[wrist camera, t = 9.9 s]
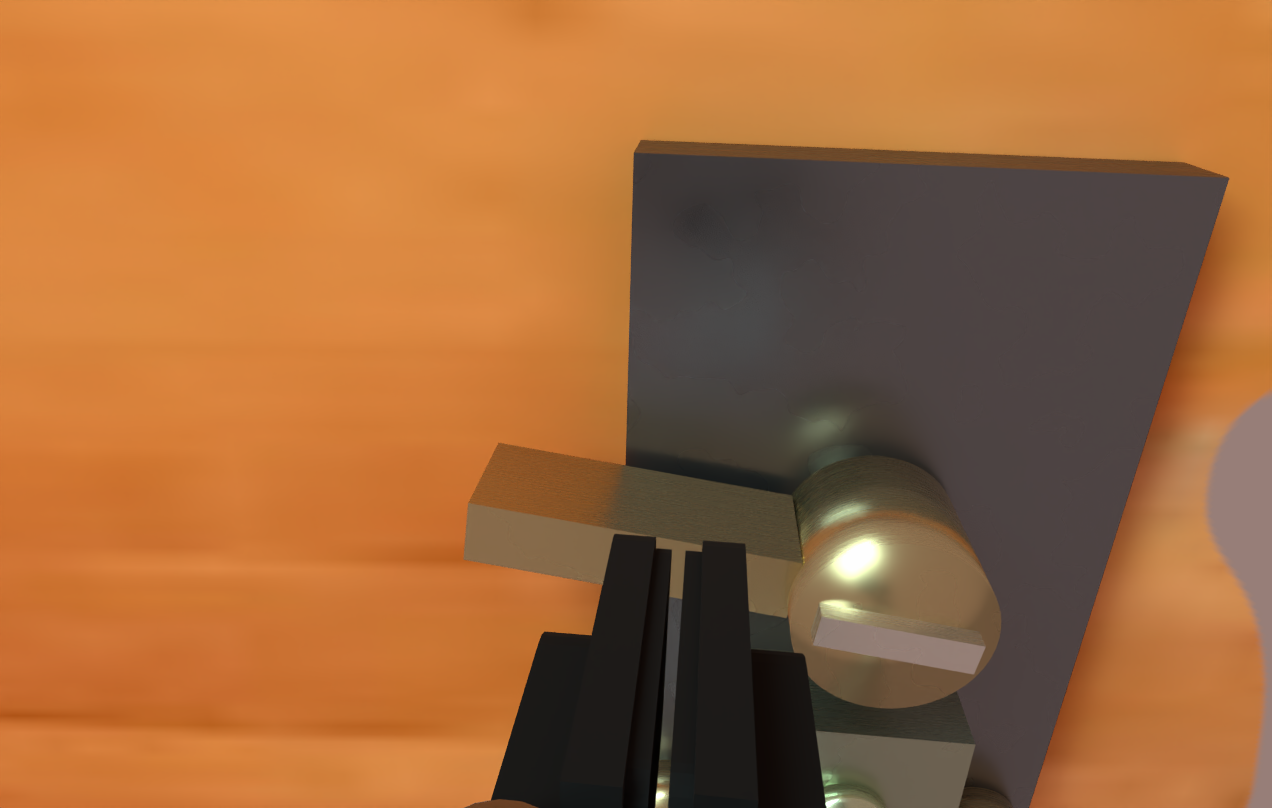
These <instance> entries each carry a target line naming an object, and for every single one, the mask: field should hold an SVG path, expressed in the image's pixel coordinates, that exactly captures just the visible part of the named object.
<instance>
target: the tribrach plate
mask: <svg viewBox="0 0 1272 808" xmlns="http://www.w3.org/2000/svg"><path fill="white" fill-rule="evenodd" d="M1228 180H1229V178H1228V177H1225V176H1223V175H1220V174H1217V173H1214V172H1211V171H1208V170H1205V169H1202V168H1199V167H1196V166H1193V165H1190V164H1187V163H1182V162H1158V161H1134V160H1110V159H1086V158H1061V157H1037V156H1013V155H989V154H964V153H940V152H916V151H892V150H868V149H843V148H819V147H795V146H771V145H746V144H722V143H698V142H674V141H649V140H641V141H640V143H639V145H638V146H637V148H636V150H635V152H634V169H633V207H632V246H631V284H630V323H629V362H628V400H627V439H626V466H631V467H636V468H642V469H647V470H653V471H658V472H664V473H670V474H675V475H681V476H686V477H692V478H697V479H703V480H709V481H714V482H720V483H725V484H731V485H736V486H742V487H747V488H753V489H759V490H764V491H770V492H775V493H781V494H786V495H792V493H793V492H794V491H795V489H796V488H797V487H798V486H799V485H800V484H801V483H802V482H803V481H804V480H805V479H807V478H808V477H809V476H810V475H812V474H813V473H815V472H816V471H818V470H819V469H821V468H823V467H825V466H827V465H829V464H832V463H834V462H837V461H840V460H843V459H848V458H852V457H859V456H885V457H892V458H896V459H900V460H903V461H906V462H909V463H911V464H914V465H916V466H917V467H919V468H921V469H923V470H924V471H926V472H927V473H929V474H930V475H931V476H932V477H933V478H935V479H936V480H937V481H938V482H939V483H940V485H941V486H942V487H943V489H944V490H945V491H946V493H947V495H948V497H949V498H950V500H951V502H952V505H953V507H954V509H955V511H956V513H957V515H958V517H959V519H960V521H961V524H962V526H963V528H964V530H965V532H966V534H967V536H968V538H969V541H970V543H971V545H972V547H973V549H974V551H975V553H976V555H977V558H978V560H979V562H980V564H981V566H982V568H983V570H984V572H985V574H986V577H987V579H988V581H989V583H990V585H991V587H992V589H993V591H994V594H995V596H996V598H997V601H998V604H999V607H1000V613H1001V632H1000V638H999V641H998V644H997V647H996V650H995V651H994V653H993V655H992V657H991V659H990V660H989V662H988V663H987V665H986V666H985V667H984V669H983V670H982V671H981V672H980V673H979V674H978V675H977V676H976V677H975V678H974V679H973V680H971V681H970V682H969V683H968V684H966V685H965V686H964V687H962V688H960V689H959V690H957V691H956V692H954V693H952V694H950V695H948V696H946V697H944V698H941V699H939V700H936V701H933V702H930V703H926V704H923V705H919V706H913V707H907V708H893V709H891V708H875V707H867V706H863V705H858V704H854V703H851V702H848V701H846V700H843V699H841V698H838V697H836V696H834V695H832V694H830V693H829V692H827V691H826V690H824V689H823V688H821V687H820V686H819V685H817V684H816V683H815V682H814V681H813V680H812V679H811V678H810V677H809V676H808V678H809V685H810V692H811V700H812V707H813V714H814V721H815V729H816V736H817V743H818V750H819V757H820V765H821V772H822V779H823V786H824V794H825V801H826V808H1029V806H1030V802H1031V799H1032V796H1033V793H1034V790H1035V787H1036V784H1037V780H1038V777H1039V774H1040V771H1041V768H1042V765H1043V762H1044V758H1045V755H1046V752H1047V749H1048V746H1049V743H1050V740H1051V737H1052V733H1053V730H1054V727H1055V724H1056V721H1057V718H1058V715H1059V711H1060V708H1061V705H1062V702H1063V699H1064V696H1065V693H1066V689H1067V686H1068V683H1069V680H1070V677H1071V674H1072V671H1073V667H1074V664H1075V661H1076V658H1077V655H1078V652H1079V649H1080V645H1081V642H1082V639H1083V636H1084V633H1085V630H1086V627H1087V623H1088V620H1089V617H1090V614H1091V611H1092V608H1093V605H1094V601H1095V598H1096V595H1097V592H1098V589H1099V586H1100V583H1101V579H1102V576H1103V573H1104V570H1105V567H1106V564H1107V561H1108V557H1109V554H1110V551H1111V548H1112V545H1113V542H1114V539H1115V535H1116V532H1117V529H1118V526H1119V523H1120V520H1121V517H1122V513H1123V510H1124V507H1125V504H1126V501H1127V498H1128V495H1129V491H1130V488H1131V485H1132V482H1133V479H1134V476H1135V473H1136V469H1137V466H1138V463H1139V460H1140V457H1141V454H1142V451H1143V447H1144V444H1145V441H1146V438H1147V435H1148V432H1149V429H1150V426H1151V422H1152V419H1153V416H1154V413H1155V410H1156V407H1157V404H1158V400H1159V397H1160V394H1161V391H1162V388H1163V385H1164V382H1165V378H1166V375H1167V372H1168V369H1169V366H1170V363H1171V360H1172V356H1173V353H1174V350H1175V347H1176V344H1177V341H1178V338H1179V334H1180V331H1181V328H1182V325H1183V322H1184V319H1185V316H1186V312H1187V309H1188V306H1189V303H1190V300H1191V297H1192V294H1193V290H1194V287H1195V284H1196V281H1197V278H1198V275H1199V272H1200V268H1201V265H1202V262H1203V259H1204V256H1205V253H1206V250H1207V246H1208V243H1209V240H1210V237H1211V234H1212V231H1213V228H1214V224H1215V221H1216V218H1217V215H1218V212H1219V209H1220V206H1221V202H1222V199H1223V196H1224V193H1225V190H1226V187H1227V184H1228ZM681 609H682V599H679V598H673V597H669V614H668V632H667V650H666V668H665V686H664V704H663V721H662V735H661V747H660V759H659V771H658V782H657V794H656V806H655V808H668V798H669V783H670V768H671V754H672V739H673V725H674V710H675V696H676V681H677V667H678V652H679V638H680V623H681ZM749 622H750V642H751V649H757V650H769V651H781V652H793V653H794V650H793V647H792V643H791V635H790V626H789V618H788V615H787V618H784V617H778V616H772V615H767V614H761V613H756V612H750V611H749Z"/></svg>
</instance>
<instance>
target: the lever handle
mask: <svg viewBox="0 0 1272 808" xmlns="http://www.w3.org/2000/svg"><path fill="white" fill-rule="evenodd" d="M614 534H625V535H638V536H652V537H656V548H660V549H672V560H671V578H670V596H669V597H673V598H679V599H682V594H683V580H684V565H685V551H700V552H702V544H703V540H705V541H718V542H731V543H744V544H745V545H746V562H747V582H748V602H749V611H750V612H756V613H761V614H767V615H772V616H778V617H784V618H787V615H788V618H789V626H790V635H791V643H792V647H793V650H794V653H803V654H804V656H805V659H806V664H807V671H808V676H809V677H810V678H811V679H812V680H813V681H814V682H815V683H816V684H817V685H819V686H820V687H821V688H823V689H824V690H826V691H827V692H829V693H830V694H832V695H834V696H836V697H838V698H841V699H843V700H846V701H848V702H851V703H854V704H858V705H863V706H867V707H875V708H891V709H893V708H907V707H913V706H919V705H923V704H926V703H930V702H933V701H936V700H939V699H941V698H944V697H946V696H948V695H950V694H952V693H954V692H956V691H957V690H959V689H960V688H962V687H964V686H965V685H966V684H968V683H969V682H970V681H971V680H973V679H974V678H975V677H976V676H977V675H978V674H979V673H980V672H981V671H982V670H983V669H984V667H985V666H986V665H987V663H988V662H989V660H990V659H991V657H992V655H993V653H994V651H995V650H996V647H997V644H998V641H999V638H1000V632H1001V613H1000V607H999V604H998V601H997V598H996V596H995V594H994V591H993V589H992V587H991V585H990V583H989V581H988V579H987V577H986V574H985V572H984V570H983V568H982V566H981V564H980V562H979V560H978V558H977V555H976V553H975V551H974V549H973V547H972V545H971V543H970V541H969V538H968V536H967V534H966V532H965V530H964V528H963V526H962V524H961V521H960V519H959V517H958V515H957V513H956V511H955V509H954V507H953V505H952V502H951V500H950V498H949V497H948V495H947V493H946V491H945V490H944V489H943V487H942V486H941V485H940V483H939V482H938V481H937V480H936V479H935V478H933V477H932V476H931V475H930V474H929V473H927V472H926V471H924V470H923V469H921V468H919V467H917V466H916V465H914V464H911V463H909V462H906V461H903V460H900V459H896V458H892V457H885V456H859V457H852V458H848V459H843V460H840V461H837V462H834V463H832V464H829V465H827V466H825V467H823V468H821V469H819V470H818V471H816V472H815V473H813V474H812V475H810V476H809V477H808V478H807V479H805V480H804V481H803V482H802V483H801V484H800V485H799V486H798V487H797V488H796V489H795V491H794V492H793V493H792V495H786V494H781V493H775V492H770V491H764V490H759V489H753V488H747V487H742V486H736V485H731V484H725V483H720V482H714V481H709V480H703V479H697V478H692V477H686V476H681V475H675V474H670V473H664V472H658V471H653V470H647V469H642V468H636V467H631V466H625V465H619V464H614V463H608V462H603V461H597V460H592V459H586V458H580V457H575V456H569V455H564V454H558V453H553V452H547V451H542V450H536V449H530V448H525V447H519V446H514V445H508V444H503V443H498V445H497V447H496V449H495V451H494V453H493V455H492V457H491V459H490V461H489V463H488V465H487V467H486V469H485V471H484V473H483V475H482V477H481V479H480V481H479V483H478V485H477V487H476V489H475V491H474V493H473V495H472V497H471V499H470V501H469V503H468V513H467V525H466V537H465V549H464V560H469V561H475V562H480V563H486V564H491V565H497V566H502V567H508V568H513V569H519V570H524V571H530V572H535V573H541V574H546V575H552V576H558V577H563V578H569V579H574V580H580V581H585V582H591V583H596V584H602V585H603V581H604V577H605V572H606V567H607V563H608V558H609V554H610V549H611V544H612V540H613V536H614Z"/></svg>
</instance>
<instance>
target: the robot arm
mask: <svg viewBox="0 0 1272 808" xmlns="http://www.w3.org/2000/svg"><path fill="white" fill-rule="evenodd" d="M671 560H672V549H660V548H656V537H652V536H638V535H625V534H614V536H613V540H612V544H611V549H610V554H609V558H608V563H607V567H606V572H605V577H604V581H603V586H602V590H601V595H600V600H599V604H598V609H597V613H596V618H595V623H594V627H593V632H592V636H591V635H579V634H567V633H555V632H544V633H543V634H542V636H541V638H540V641H539V643H538V647H537V650H536V653H535V657H534V660H533V663H532V667H531V670H530V673H529V676H528V680H527V683H526V686H525V690H524V693H523V696H522V700H521V703H520V706H519V709H518V713H517V716H516V719H515V723H514V726H513V729H512V732H511V736H510V739H509V742H508V746H507V749H506V752H505V756H504V759H503V762H502V766H501V769H500V772H499V775H498V779H497V782H496V785H495V789H494V792H493V795H492V798H491V801H485V802H479V803H474V804H472V805H470V806H467V807H465V808H655V806H656V794H657V782H658V771H659V759H660V747H661V735H662V721H663V704H664V686H665V668H666V650H667V632H668V614H669V596H670V578H671ZM668 808H826V801H825V794H824V786H823V779H822V772H821V765H820V757H819V750H818V743H817V736H816V729H815V721H814V714H813V707H812V700H811V692H810V685H809V678H808V671H807V664H806V659H805V656H804V654H803V653H793V652H781V651H769V650H757V649H751V642H750V622H749V602H748V582H747V562H746V545H745V544H744V543H731V542H718V541H705V540H703V544H702V552H700V551H685V565H684V580H683V594H682V609H681V623H680V638H679V652H678V667H677V681H676V696H675V710H674V725H673V739H672V754H671V768H670V783H669V798H668Z"/></svg>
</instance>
